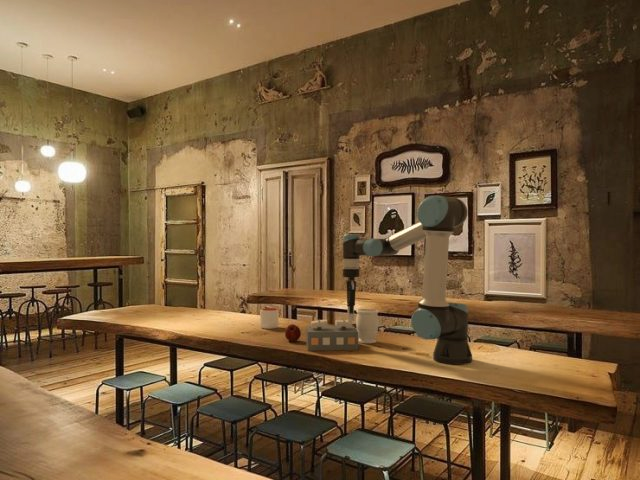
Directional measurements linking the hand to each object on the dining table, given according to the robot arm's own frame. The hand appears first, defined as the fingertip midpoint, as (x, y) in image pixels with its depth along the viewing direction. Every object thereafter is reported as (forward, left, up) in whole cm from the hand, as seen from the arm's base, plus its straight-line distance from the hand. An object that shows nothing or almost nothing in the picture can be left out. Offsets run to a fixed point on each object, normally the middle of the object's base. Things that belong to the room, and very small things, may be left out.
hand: (350, 320), depth 213 cm
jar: (+9, -9, -12) cm, 18 cm away
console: (0, +9, -12) cm, 15 cm away
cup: (+49, +38, -12) cm, 63 cm away
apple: (+13, +26, -12) cm, 31 cm away
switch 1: (0, +14, -1) cm, 14 cm away
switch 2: (0, +3, -1) cm, 4 cm away
